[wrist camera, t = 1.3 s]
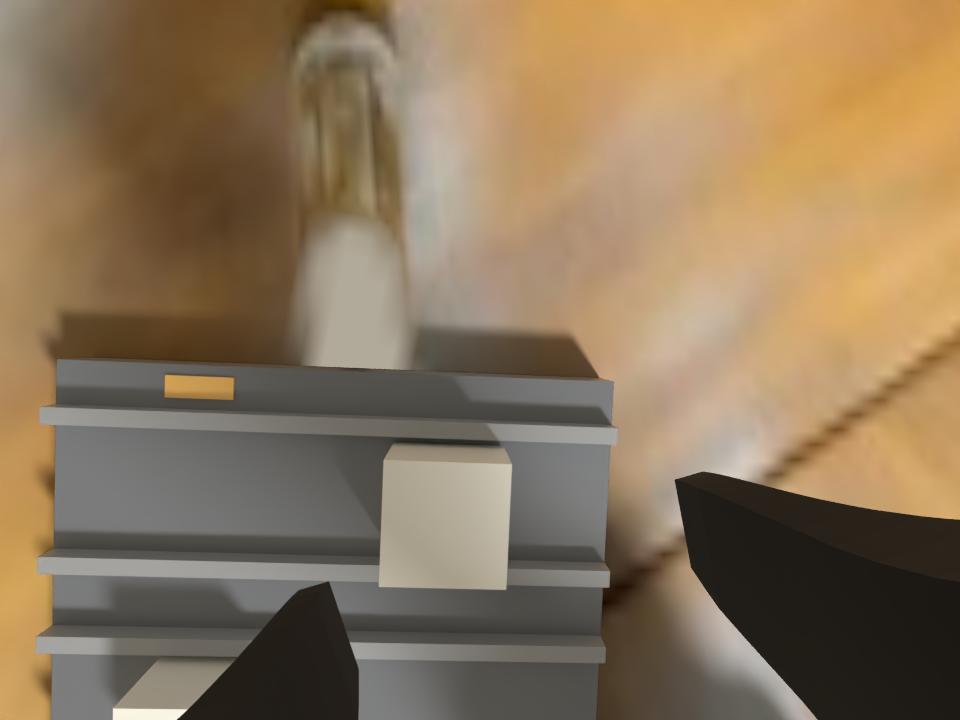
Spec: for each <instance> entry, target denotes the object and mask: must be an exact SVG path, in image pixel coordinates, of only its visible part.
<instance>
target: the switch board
mask: <svg viewBox="0 0 960 720" xmlns="http://www.w3.org/2000/svg"><path fill="white" fill-rule="evenodd" d="M613 388H614V382H612V381H609V380H605V379H602V378H585V377H561V376H537V375H512V374H488V373H463V372H439V371H415V370H390V369H365V368H341V367H317V366H292V365H268V364H244V363H219V362H195V361H170V360H146V359H122V358H97V357H89V358H71V359H57V386H56V404H54V405H48V406H42V407H40V424H43V425H56V448H55V509H54V549H52V550H50V551H48V552H46V553H44V554H42V555H40V556H38V561H37V574H53V625H52V626H50V627H49V628H48V629H46V630H45V631H43V632H42V633H41V634H39V635H38V636H36V654H52V694H51V720H113V708H114V707H115V706H116V705H117V704H118V702H119V701H120V700H121V699H122V698H123V697H124V696H125V695H126V694H127V693H128V692H129V691H130V689H131V688H132V687H133V686H134V685H135V684H136V683H137V682H138V681H139V680H140V679H141V677H142V676H143V675H144V674H145V673H146V672H147V671H148V670H149V669H150V668H151V667H152V666H153V664H154V663H155V662H156V661H157V660H158V659H159V658H160V657H161V656H208V657H238V656H239V655H240V654H241V653H242V652H243V651H244V650H245V648H246V647H247V646H248V645H249V644H250V643H251V642H252V640H253V639H254V638H255V637H256V636H257V635H258V634H259V633H260V631H261V630H262V629H263V628H264V627H265V626H266V625H267V623H268V622H269V621H270V620H271V619H272V618H273V617H274V615H275V614H276V613H277V612H278V611H279V610H280V609H281V607H282V606H283V605H284V604H285V603H286V602H287V601H288V600H289V599H290V598H291V597H292V596H293V595H294V594H295V593H296V592H297V591H298V590H300V589H304V588H307V587H311V586H314V585H318V584H321V583H324V582H328V581H329V583H330V585H331V588H332V591H333V594H334V597H335V600H336V603H337V606H338V609H339V612H340V615H341V618H342V621H343V624H344V627H345V630H346V633H347V636H348V639H349V642H350V645H351V647H352V650H353V653H354V656H355V659H356V662H357V665H358V668H359V718H358V720H596V712H597V693H598V674H599V663H605V659H606V646H605V644H604V642H603V640H602V638H601V617H602V597H603V588H609V584H610V570H609V569H608V567H607V566H606V564H605V563H604V559H605V540H606V521H607V502H608V483H609V464H610V445H617V433H618V428H616V427H615V426H613V425H612V407H613ZM394 442H401V443H430V444H458V445H487V446H504V448H505V450H506V452H507V454H508V456H509V459H510V461H511V463H512V477H511V499H510V520H509V542H508V564H507V585H506V590H487V589H444V588H401V587H379V568H380V541H381V515H382V488H383V462H384V458H385V457H386V455H387V453H388V451H389V450H390V448H391V446H392V445H393V443H394Z"/></svg>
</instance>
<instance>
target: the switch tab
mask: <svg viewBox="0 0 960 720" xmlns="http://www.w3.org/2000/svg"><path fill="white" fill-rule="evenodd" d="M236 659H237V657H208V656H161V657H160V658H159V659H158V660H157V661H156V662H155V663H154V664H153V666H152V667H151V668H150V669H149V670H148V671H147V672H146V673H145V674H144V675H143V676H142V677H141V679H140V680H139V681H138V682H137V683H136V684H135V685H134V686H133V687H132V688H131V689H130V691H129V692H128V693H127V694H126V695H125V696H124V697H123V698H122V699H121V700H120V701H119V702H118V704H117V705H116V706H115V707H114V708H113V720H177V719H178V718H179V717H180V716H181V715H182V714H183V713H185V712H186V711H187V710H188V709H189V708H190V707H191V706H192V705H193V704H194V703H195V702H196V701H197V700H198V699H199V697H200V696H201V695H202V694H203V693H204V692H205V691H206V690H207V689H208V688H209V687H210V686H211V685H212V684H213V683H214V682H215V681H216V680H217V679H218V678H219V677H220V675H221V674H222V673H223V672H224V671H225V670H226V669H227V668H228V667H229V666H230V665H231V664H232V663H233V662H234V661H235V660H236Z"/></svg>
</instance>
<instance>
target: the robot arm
mask: <svg viewBox="0 0 960 720" xmlns="http://www.w3.org/2000/svg"><path fill="white" fill-rule="evenodd" d="M675 484H676V489H677V495H678V500H679V505H680V510H681V516H682V521H683V526H684V532H685V537H686V542H687V548H688V553H689V558H690V564H691V568H692V570H693V571H694V573H695V574H696V576H697V577H698V579H699V580H700V582H701V583H702V585H703V586H704V588H705V589H706V591H707V592H708V593H709V595H710V596H711V598H712V599H713V601H714V602H715V603H716V605H717V606H718V608H719V609H720V610H721V611H722V612H723V614H724V615H725V616H726V617H727V618H728V619H729V620H730V622H731V623H732V624H733V625H734V626H735V627H736V628H737V629H738V630H739V632H740V633H741V634H742V635H743V636H744V637H745V638H746V639H747V641H748V642H749V643H750V644H751V645H752V646H753V647H754V648H755V649H756V651H757V652H758V653H759V654H760V655H761V656H762V657H763V658H764V659H765V660H766V662H767V663H768V664H769V665H770V666H771V667H772V668H773V669H774V670H775V672H776V673H777V674H778V675H779V676H780V677H781V678H782V679H783V680H784V681H785V683H786V684H787V685H788V686H789V687H790V688H791V689H792V690H793V691H794V692H795V694H796V695H797V696H798V697H799V698H800V699H801V700H802V701H803V703H804V704H805V705H806V706H807V707H808V709H809V710H810V711H811V712H812V713H813V714H814V716H815V717H816V718H817V719H818V720H960V520H954V519H942V518H932V517H923V516H915V515H908V514H900V513H893V512H886V511H878V510H872V509H866V508H860V507H855V506H850V505H845V504H840V503H835V502H830V501H825V500H821V499H816V498H812V497H807V496H803V495H799V494H795V493H791V492H787V491H783V490H779V489H775V488H771V487H767V486H763V485H759V484H756V483H752V482H748V481H744V480H740V479H736V478H732V477H728V476H724V475H720V474H715V473H709V472H700V473H696V474H693V475H690V476H686V477H683V478H679V479H676V480H675ZM358 718H359V668H358V665H357V662H356V659H355V656H354V653H353V650H352V647H351V645H350V642H349V639H348V636H347V633H346V630H345V627H344V624H343V621H342V618H341V615H340V612H339V609H338V606H337V603H336V600H335V597H334V594H333V591H332V588H331V585H330V583H329V581H328V582H324V583H321V584H318V585H314V586H311V587H307V588H304V589H300V590H298V591H297V592H296V593H295V594H294V595H293V596H292V597H291V598H290V599H289V600H288V601H287V602H286V603H285V604H284V605H283V606H282V607H281V609H280V610H279V611H278V612H277V613H276V614H275V615H274V617H273V618H272V619H271V620H270V621H269V622H268V623H267V625H266V626H265V627H264V628H263V629H262V630H261V631H260V633H259V634H258V635H257V636H256V637H255V638H254V639H253V640H252V642H251V643H250V644H249V645H248V646H247V647H246V648H245V650H244V651H243V652H242V653H241V654H240V655H239V656H238V657H237V659H236V660H235V661H234V662H233V663H232V664H231V665H230V666H229V667H228V668H227V669H226V670H225V671H224V672H223V673H222V674H221V675H220V677H219V678H218V679H217V680H216V681H215V682H214V683H213V684H212V685H211V686H210V687H209V688H208V689H207V690H206V691H205V692H204V693H203V694H202V695H201V696H200V697H199V699H198V700H197V701H196V702H195V703H194V704H193V705H192V706H191V707H190V708H189V709H188V710H187V711H186V712H185V713H183V714H182V715H181V716H180V717H179V718H178V719H177V720H358Z"/></svg>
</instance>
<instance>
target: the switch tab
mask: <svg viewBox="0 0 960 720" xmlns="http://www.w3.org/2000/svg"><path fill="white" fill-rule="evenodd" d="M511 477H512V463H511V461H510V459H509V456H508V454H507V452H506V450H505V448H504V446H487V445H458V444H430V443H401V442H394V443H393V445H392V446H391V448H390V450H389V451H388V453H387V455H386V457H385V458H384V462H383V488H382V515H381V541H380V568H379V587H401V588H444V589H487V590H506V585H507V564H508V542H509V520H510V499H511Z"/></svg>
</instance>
